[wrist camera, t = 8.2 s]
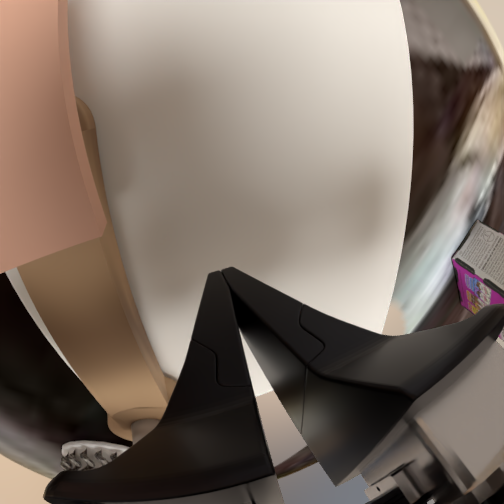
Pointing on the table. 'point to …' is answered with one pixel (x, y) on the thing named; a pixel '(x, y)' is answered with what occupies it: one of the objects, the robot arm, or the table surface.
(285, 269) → the board
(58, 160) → the plate
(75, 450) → the decorative candle
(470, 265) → the candy bar box
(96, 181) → the link
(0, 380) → the table surface
